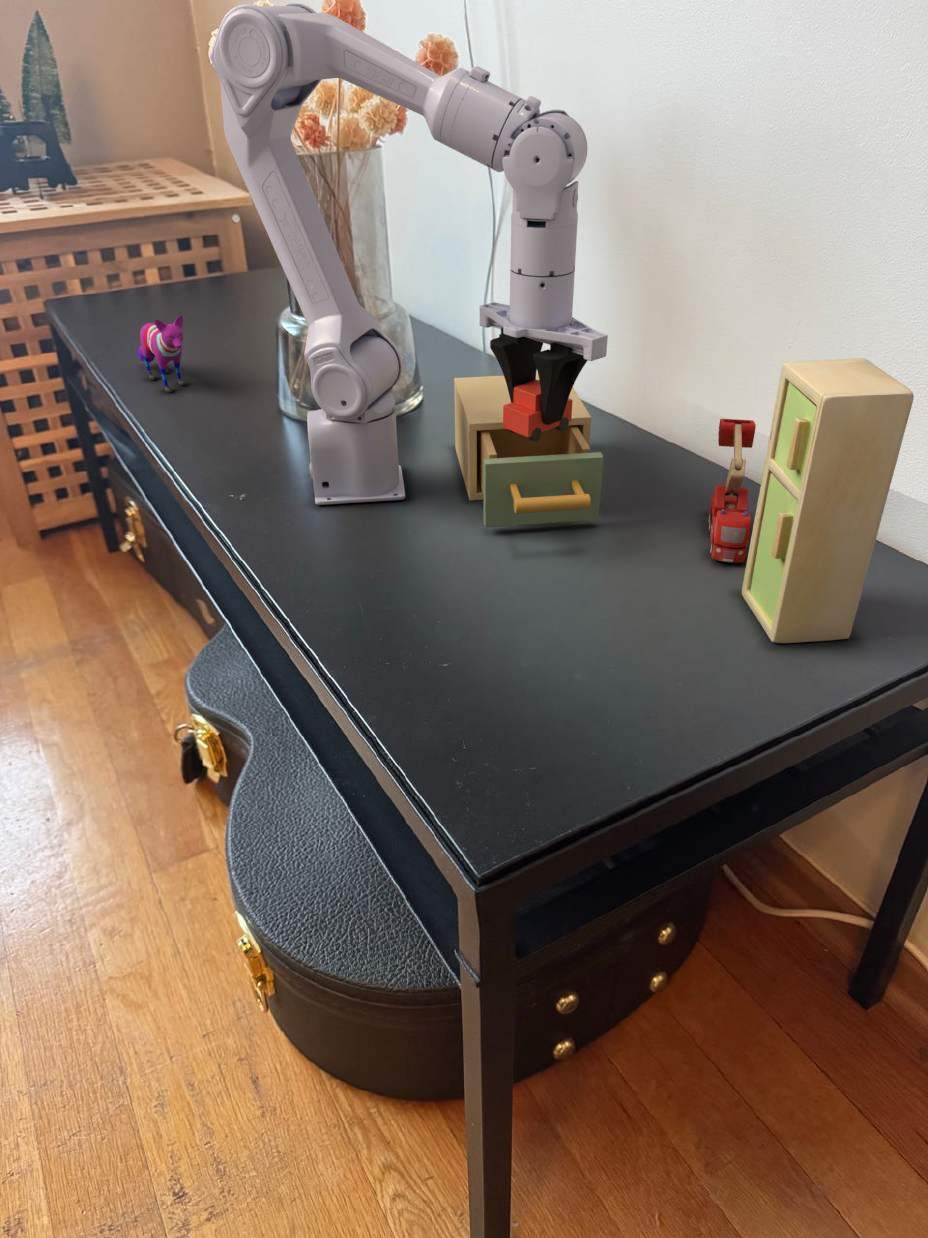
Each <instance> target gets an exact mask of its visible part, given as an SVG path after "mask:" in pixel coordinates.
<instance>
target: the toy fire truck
mask: <svg viewBox="0 0 928 1238" xmlns="http://www.w3.org/2000/svg"><path fill="white" fill-rule="evenodd" d="M756 427H757V425H756V422H755V421H754V419H737V418H736V419H734V418H720V419H719V424H718V434H717V435H718V436H717V437H718V439H717V440H718V441H717V442H718V443H717V444H718V446H719V447H726V448H727V447H729V448H732V447H733V457H732V458H731V461H730V465H729V469H728V473H727V478H726V482H725V485H719V484H717V485H715V489H714V494H712V495H711V497H710V505H709V511H708V521H707V522H708V523H707V524H708V534H709V540H710V550H709V556H710V557H711V559H712V560H715V561H718V562H723V563H731V564H733V563H735V564H739V563H744V562H745V560H746V559H747V557H748V544H749V540H750V532H751V523H752V519H751V513H749V512H748V503H749V502H748V501H749V488H747V487H742V485H743V482H744V479H745V476H746V475H745V474H746V464H747V459H746V458H743V448H745V449H752V448H753V447H754V446H753V445H754V440H755V435H756ZM731 495H732V496H731Z"/></svg>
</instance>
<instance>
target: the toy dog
mask: <svg viewBox="0 0 928 1238" xmlns="http://www.w3.org/2000/svg"><path fill="white" fill-rule="evenodd" d="M183 323H184V317H183V315H182V314H180V315H178V316H177V317H176V319H175V320H174V322H173V323H169V324H167V323H164V321H161V320H160V319H154V322H148V323H146V324H144V325H142V327H141V329H140V331H139V332H140V333H139V338H140V339H139V340H140V346H139V347H138V349H137V355H138V358H139V359H140V361H142V362H143V361H144V365H145V368H146V371H151V372H147V375H148V377H149V380H150V381H155V380H157V378H156V376H154V375H153V373H152V370H151V367H150V363H152V362H153V361H154V360H156V362H157V365H158V368H159V371H160V374H161V378H162V381H163V386H164V391H165V392H166V393H172V392H173V390H172V388H170V385H169V384H168V377H167V374H168V373H170V372H169V370H168V369H167V366H168V364H169V363H170V362H172V361H173V365H174V366H173V367H174V369H175V372H176V377H177V382H178V384H179V386H182V387H183V386H185V385H186V382H185V381H183V379H182V374H181V359H182V347H183V340H184V332H183ZM151 361H152V362H151Z"/></svg>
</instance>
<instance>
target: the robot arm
mask: <svg viewBox="0 0 928 1238" xmlns="http://www.w3.org/2000/svg"><path fill="white" fill-rule="evenodd" d="M209 60H210V61H211V63H212V66H213V68H214V70H215V73H216V75H217V77H218V79H219V82H220V95H221V97H220V98H221V107H222V108H221V109H222V120H223V121H222V122H223V132H224V137H225V140H226V143H227V146H228V148H229V149H230V152H231V154H232V157H233V159H234V161H235V164H236V166H237V168H238V170H239V172H240V176H241V177H242V180H243V182H244V184H245V186H246V188H247V191H248V193H249V195H250V197H251V199H252V201H253V203H254V206H255V209H256V211H257V213H258V215H259V218H260V220H261V222H262V225H263V227H264V229H265V231H266V233H267V236H268V239H269V240H270V243H271V245H272V248H273V249H274V252H275V254H276V256H277V258H278V261H279V263H280V265H281V267H282V270H283V272H284V274H285V276H286V279H287V281H288V283H289V285H290V288H291V290H292V293H293V294H294V297H295V299H296V301H297V303H298V306H299V308H300V310H301V313H302V316H303V317H304V319H305V321H306V323H307V327H308V331H307V335H306V341H305V346H304V352H303V353H304V358H305V360H306V364H307V365H308V368H309V372H310V373H309V374H310V389H311V393H312V396H313V398H314V400H315V403H316V404H317V405H318V407H319V408H320V409H316V410H309V411H307V414H306V415H307V417H306V418H307V419H306V420H307V421H306V423H307V439H308V447H309V457H310V462H309V474H310V475H309V476H310V479H311V480H312V484H313V493H314V503H315V505H317V506H324V505H325V506H326V505H339V504H341V505H342V504H354V503H355V504H358V503H369V502H370V503H372V502H388V501H402V500H405V499H406V490H405V483H404V477H403V470H402V466H401V465H399V447H398V428H397V427H398V426H397V412H396V410H397V409H396V400H395V397H394V387H395V386H396V385H397V384H398V382H399V381H400V379H401V377H402V374H403V368H404V367H403V366H404V363H403V359H402V355H401V352H400V350H399V349H398V347H397V345H396V344H395V342H393V340H391V339H390V338H389V337H388V336H387V334H386V333H385V332H384V331H383V329H382V327H381V324H380V322H379V320H378V318H377V317H376V315H374V314H373V313H372V312H370V311H369V310H368V309H366V308H364V307H363V306H361V304H360V302H359V301H358V299H357V296H356V294H355V291H354V289H353V287H352V284H351V282H350V279H349V277H348V274H347V272H346V270H345V267H344V265H343V262H342V260H341V258H340V255H339V253H338V250H337V248H336V246H335V245H336V244H335V243H334V241H333V238H332V236H331V234H330V233H331V232H330V231H329V228H328V226H327V223H326V221H325V219H324V216H323V214H322V212H321V209H320V207H319V204H318V202H317V200H316V197H315V195H314V193H313V190H312V188H311V185H310V182H309V180H308V177H307V175H306V172H305V170H304V168H303V166H302V163H301V161H300V158H299V156H298V153H297V151H296V148H295V146H294V144H293V141H292V133H293V131H294V128H295V125H296V122H297V120H298V117H299V115H300V112H301V109H302V107H303V105H304V103H305V102H306V101H307V100H308V98H309V97H310V96H311V95H312V94H313V92H314V91H315V90H316V89H317V87H318V86H319V85H320V83H321V82H322V81H323V80H328V79H329V80H331V79H340V80H343V81H345V82H348V83H350V84H352V85H354V86H356V87H359V88H361V89H363V90H365V91H368V92H370V93H372V94H374V95H376V96H379V97H381V98H383V99H386V100H388V101H389V102H392V103H394V104H396V105H399V106H401V107H403V108H405V109H407V110H409V111H412V112H414V113H416V114H419V115H420V116H423V118H424V119H425V122H426V125H427V126H428V129H429V132H430V134H431V136H432V138H433V139H434V140H435V141H437V142H438V143H440V144H442V145H444V146H446V147H448V148H450V149H452V150H454V151H456V152H458V153H459V154H461V155H463V156H465V157H468V158H469V159H471V160H473V161H475V162H477V163H479V164H481V165H483V166H485V167H487V168H489V169H491V170H493V171H495V172H497V173H502V172H503V173H504V176H505V178H506V181H507V182H508V184H509V185H510V187H511V189H512V211H511V212H512V213H511V216H510V219H511V220H510V221H511V222H510V223H511V225H510V231H511V232H510V271H509V275H510V276H509V277H510V278H509V304H504V303H500V302H496V301H493V302H489V303H485V304H481V305H479V326H480V327H483V328H491V327H492V328H495V329H498V330H500V334H498V337H495V338H492V339H491V340H490V342H489V348H490V351H492V354H493V355H494V357H495V358H496V360H497V362H498V364H499V367H500V369H501V372H502V374H503V375H502V376H504V377H505V381H506V384H507V388H508V392H509V396H510V400H511V403H512V402H514V387H517V386H520V385H523V384H526V383H529V382H532V381H535V380H536V374H538V375H539V381H540V388H541V415H542V421H543V423H544V424H546V425H550V424H552V423H555V422H558V421H560V420H562V417H563V414H564V410H565V407H566V404H567V401H568V398H569V395H570V392H571V390H572V387H573V388H574V385H575V383H576V381H577V379H578V377H579V375H580V374H581V372H582V370H583V368H584V367H585V365H586V364H587V362H588V361H589V362H594V361H597V360H600V359H602V358H605V357H607V351H608V350H607V349H608V339H609V338H608V337H609V335H608V334H607V333H603V332H600V331H597V330H595V329H594V328H592V327H590V326H588V325H587V324H585V323H583V322H582V321H580V320H579V319H577V318H575V317H573V311H574V309H573V307H574V291H575V290H574V289H575V274H576V273H575V272H576V256H577V237H578V223H579V222H578V221H579V215H578V200H579V181H578V180H576V181H574V180H575V179H576V178H577V177H578V176H579V174H580V173H581V171H582V170H583V168H584V166H585V164H586V161H587V157H588V141H587V137H586V134H585V131H584V129H583V128H582V125H580V123H578V121H577V120H576V119H575V118H573V117H571V116H570V115H569V114H568V113H567V112H566V111H565V110H564V109H557V108H556V109H549V110H545V111H543V112H541V110H540V107H541V106H542V105H541V104H542V101H541V100H540V99H539V98H536V97H534V96H533V95H530V96H528V97H526V99H524V98H523V97H520V96H518V95H516V94H515V93H512V92H510V91H508V90H507V89H505V88H503V87H501V86H498V85H497V84H494V83H492V82H491V81H489V79H490V76H491V73H490V72H491V71H488V70H487V69H485V68H482V67H481V66H473V67H471V68H470V71H469V70H467V69H465V68H464V67H457V68H454V69H453V70H451V71H449V72H447V73H445V74H443V75H442V76H441V75H439V74H438V73H436V72H434V71H432V70H431V69H429V68H427V67H425V66H424V65H422V64H420V63H418V62H417V61H415V60H413V59H412V58H409V57H408V56H407V55H404V54H402V53H401V52H399V51H398V50H396V49H394V48H392V47H391V46H388V45H386V44H385V43H383V42H382V41H380V40H378V39H376V38H374V37H372V36H371V35H369V34H368V33H366V32H364V31H362V30H360V29H359V28H357V27H355V26H353V25H352V24H350V23H348V22H346V21H345V20H343V19H341V18H338V17H337V16H334V15H332V14H329V13H326V12H325V13H324V12H317V11H315V10H314V9H313V8H311V7H310V6H308V5H305V4H303V3H288V4H285V5H257V4H251V3H243V4H239V5H236V6H234V7H232V8H231V9H230V10H229V11H227V13H226V14H225V15H224V16H223V18H222V20H221V22H220V24H219V27H218V30H217V33H216V36H215V40H214V42H213V46H212V49H211V52H210V55H209ZM544 344H545V345H549V348H548V349H545V350H542V349H543V345H544Z"/></svg>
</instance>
